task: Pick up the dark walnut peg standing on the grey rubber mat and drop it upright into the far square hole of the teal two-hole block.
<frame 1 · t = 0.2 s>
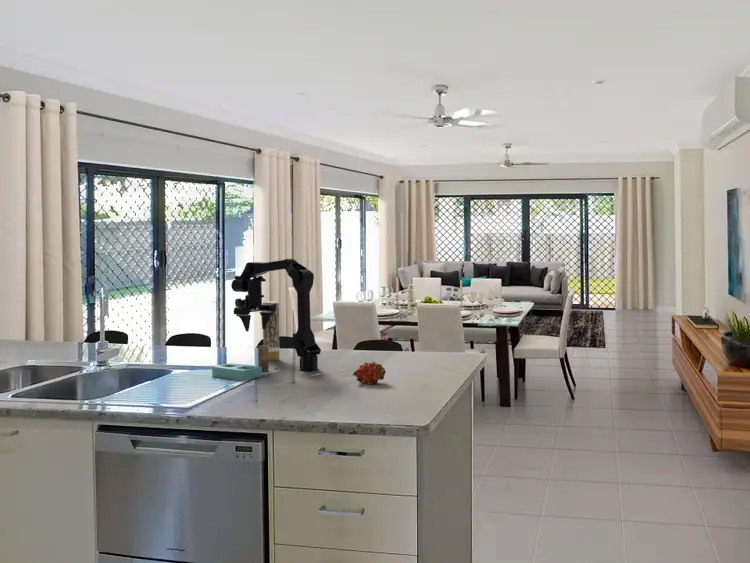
hand: (255, 330, 309), 14 cm above the counter, fingers open, 9 cm apart
paper tube: (271, 360, 321), on the counter
hole block: (237, 377, 283), on the counter
rubber mat: (263, 372, 292), on the counter
dragon fruit: (369, 384, 270), on the counter
walnut peg: (263, 371, 292), resting on rubber mat
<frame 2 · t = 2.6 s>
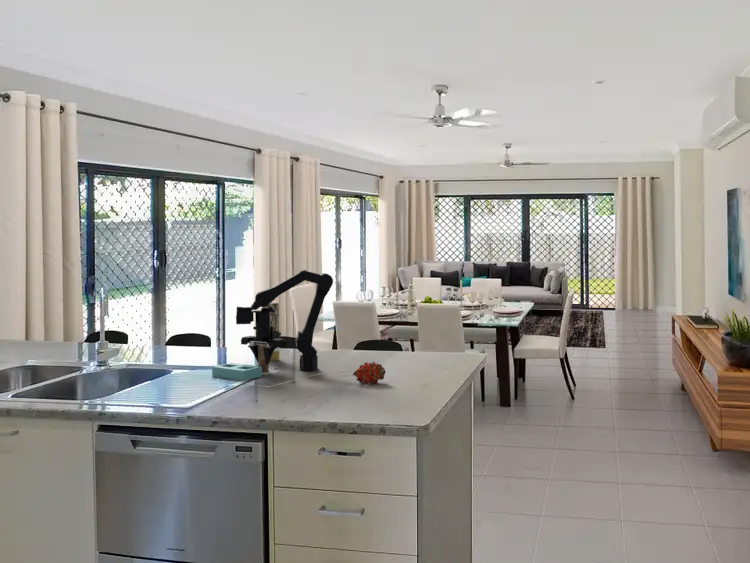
hand: (263, 363, 292), 4 cm above the counter, fingers closed on walnut peg, 4 cm apart
walnut peg: (263, 371, 292), resting on rubber mat, touching gripper
everything else where it was.
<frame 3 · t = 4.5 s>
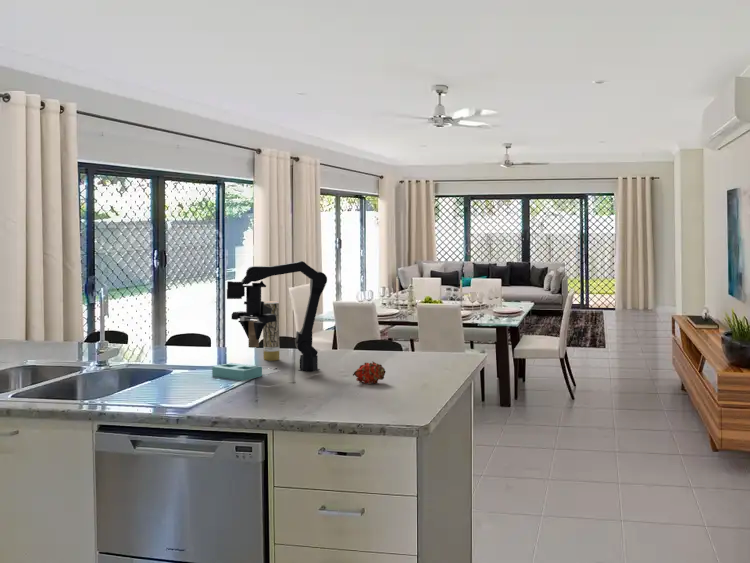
hand: (253, 339, 289), 13 cm above the counter, fingers closed on walnut peg, 4 cm apart
walnut peg: (253, 346, 290), point 10 cm above the counter, touching gripper
everything else where it was.
when the fingers open (6 cm above the counter, at t = 6.7 s): walnut peg drops 3 cm, resting in hole block.
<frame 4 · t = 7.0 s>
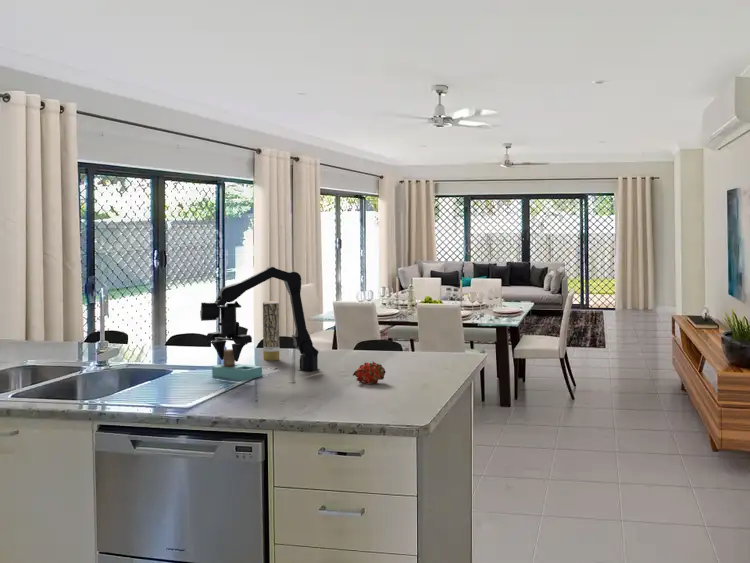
hand: (229, 360, 285), 6 cm above the counter, fingers open, 7 cm apart
walnut peg: (229, 376, 285), resting in hole block
everything else where it was.
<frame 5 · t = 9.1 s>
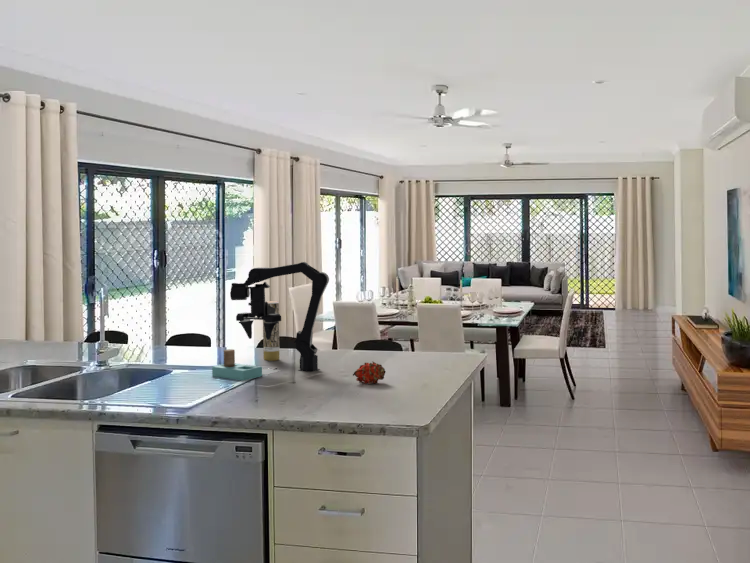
hand: (259, 339, 295), 13 cm above the counter, fingers open, 9 cm apart
nothing on the counter moved.
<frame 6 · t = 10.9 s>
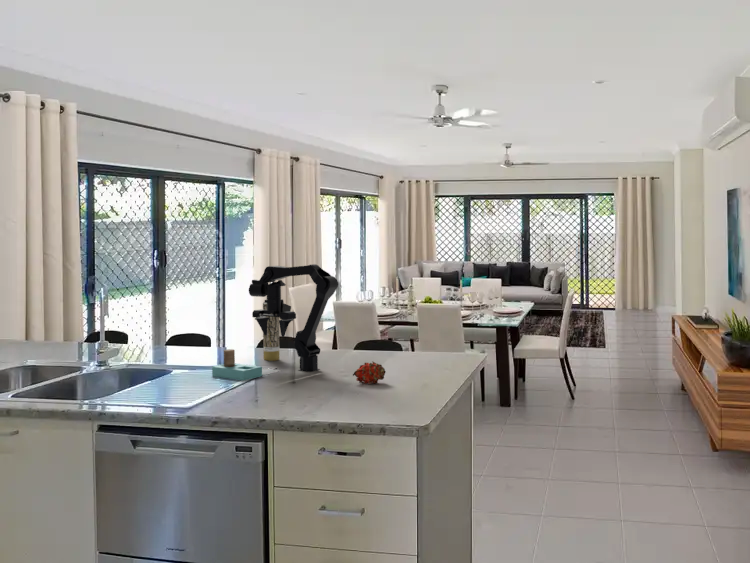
hand: (274, 335, 301), 13 cm above the counter, fingers open, 9 cm apart
nothing on the counter moved.
at the end: walnut peg 0.0 cm from the target spot on the hole block, point 0.0 cm above the hole block's base; walnut peg tilted 0°; the gripper is holding nothing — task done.
